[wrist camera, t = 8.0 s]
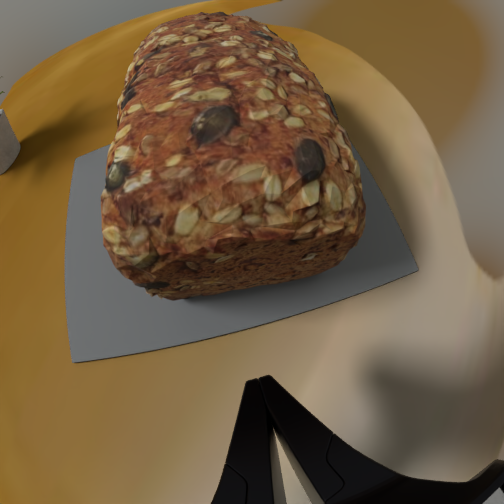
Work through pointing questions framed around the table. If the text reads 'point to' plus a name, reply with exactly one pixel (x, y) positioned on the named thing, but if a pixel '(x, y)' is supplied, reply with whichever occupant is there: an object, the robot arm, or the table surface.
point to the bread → (226, 164)
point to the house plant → (7, 143)
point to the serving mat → (210, 306)
